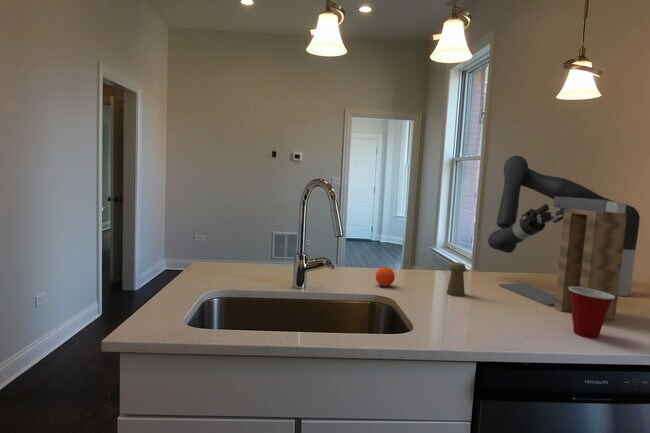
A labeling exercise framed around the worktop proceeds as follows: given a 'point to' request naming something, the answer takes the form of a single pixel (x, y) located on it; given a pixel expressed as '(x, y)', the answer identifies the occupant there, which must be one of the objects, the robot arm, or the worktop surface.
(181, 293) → the worktop surface
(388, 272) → the clementine
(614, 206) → the grey bar
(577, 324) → the plastic cup
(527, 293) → the rubber mat
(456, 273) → the cork
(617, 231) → the walnut shelf
